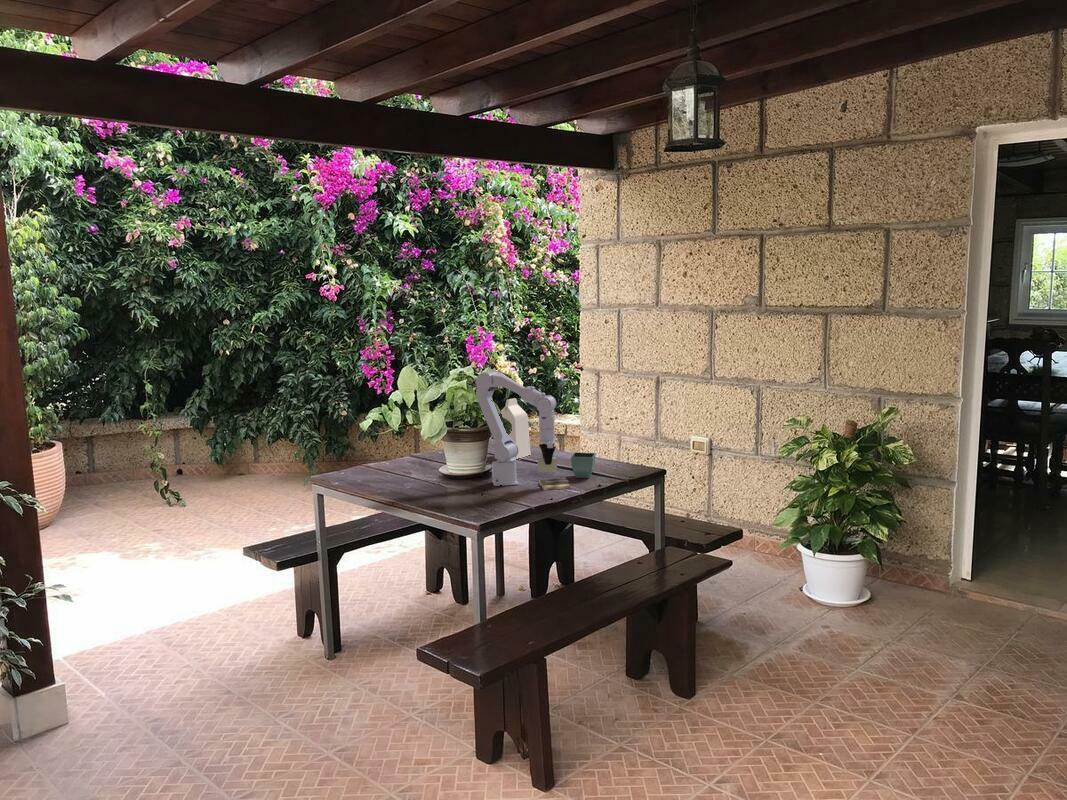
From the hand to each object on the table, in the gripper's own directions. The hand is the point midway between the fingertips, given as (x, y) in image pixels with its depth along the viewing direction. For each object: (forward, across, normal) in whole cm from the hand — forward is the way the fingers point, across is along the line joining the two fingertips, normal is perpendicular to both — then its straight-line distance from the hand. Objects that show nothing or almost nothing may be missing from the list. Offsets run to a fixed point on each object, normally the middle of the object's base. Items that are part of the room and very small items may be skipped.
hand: (547, 463), depth 326 cm
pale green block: (+3, 0, 0) cm, 3 cm away
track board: (+9, +1, -3) cm, 9 cm away
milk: (+9, +61, +6) cm, 62 cm away
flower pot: (+9, +13, -16) cm, 23 cm away
